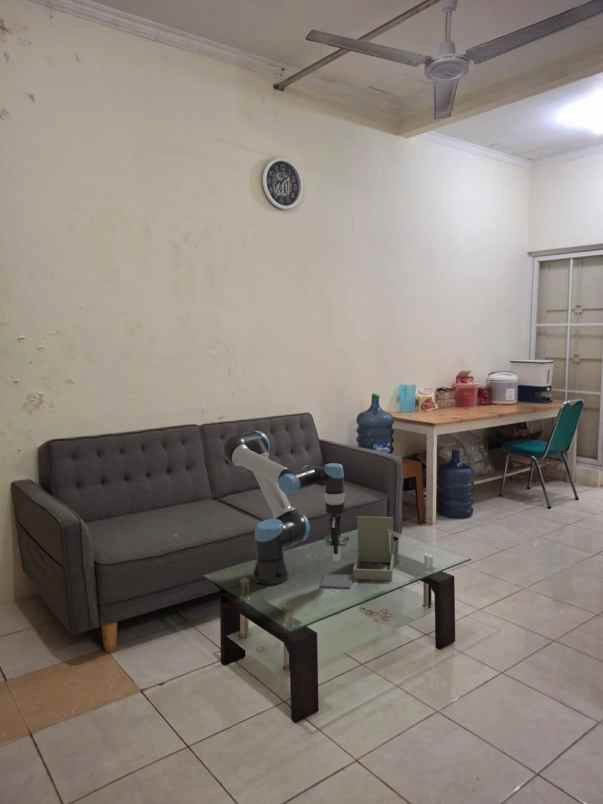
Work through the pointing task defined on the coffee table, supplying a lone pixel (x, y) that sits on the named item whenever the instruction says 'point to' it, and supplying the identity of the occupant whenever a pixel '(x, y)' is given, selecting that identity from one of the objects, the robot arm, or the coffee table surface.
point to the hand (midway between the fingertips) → (336, 559)
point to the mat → (336, 581)
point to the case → (374, 546)
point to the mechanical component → (339, 540)
